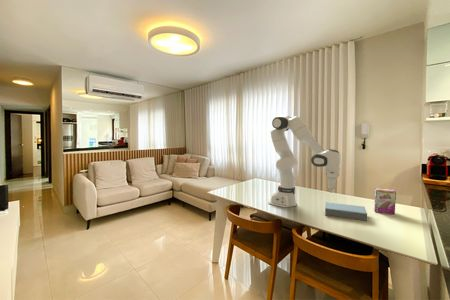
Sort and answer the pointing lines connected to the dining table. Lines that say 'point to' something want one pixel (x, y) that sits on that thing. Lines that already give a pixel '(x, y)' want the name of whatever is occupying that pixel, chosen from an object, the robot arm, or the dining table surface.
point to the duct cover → (345, 208)
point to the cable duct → (346, 215)
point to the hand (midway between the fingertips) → (331, 192)
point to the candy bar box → (385, 201)
